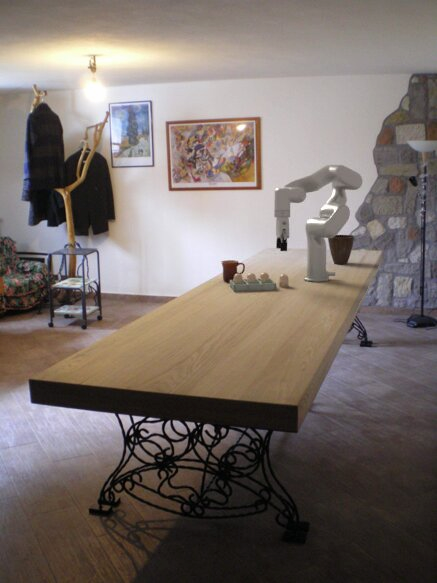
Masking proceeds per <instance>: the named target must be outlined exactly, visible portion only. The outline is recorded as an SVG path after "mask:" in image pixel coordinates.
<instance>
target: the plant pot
mask: <svg viewBox="0 0 437 583" xmlns="http://www.w3.org/2000/svg"><path fill="white" fill-rule="evenodd" d="M354 239H355V236H354V235H353V234H352V235H351V234H337V235H336V236H335V237H333V238H327V242H328V247H329V248H328V249H329V250H330V255H331V258H332V261H333V264H334V265H347V264H348V262H349V260H350V256H351V254H352V250H353V245H354V242H355V241H354Z"/></svg>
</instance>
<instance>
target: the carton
mask: <svg viewBox="0 0 437 583" xmlns="http://www.w3.org/2000/svg"><path fill="white" fill-rule="evenodd" d="M229 287H230V288H231V289H232V291H233V292H234V293H236V292H237V293H240V292H241V291H242V292H257V291H258V292H259V291H260V292H261V290H263V291H276V290H277V283H276V282H275V281H274V280H273V279H272V278H271V277H270V276H269V274H268V273H267V272H262V273H260V275H259V278H257V277H256V274H255V273H254V272H250V273H248V274H247V275H246V278H243V275H242V274H235V275H234V280H230V282H229Z"/></svg>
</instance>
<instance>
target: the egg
mask: <svg viewBox="0 0 437 583" xmlns="http://www.w3.org/2000/svg"><path fill="white" fill-rule="evenodd" d="M278 281H279V284H278V285H279V286H278V287H279V288H282V289H283V288H289V276H288V275H287V274H285V273H283V274H281V275H279V278H278Z"/></svg>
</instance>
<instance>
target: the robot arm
mask: <svg viewBox="0 0 437 583" xmlns="http://www.w3.org/2000/svg"><path fill="white" fill-rule="evenodd" d="M329 184H331V188H332V191H331V192H332V194H330V197H329V198H328V200H326V202H325V203H324V204H323V206H322V207H321V208H320V210H319V214H318V216H319V217H312V218H309V219H308V220H307V221H306V222H305V233H306V240H307V243H306V244H307V245H306V246H307V247H306V248H307V249H306V250H307V251H306V252H307V254H306V257H307V259H306V269H307V270H306V276H304V277H303V280H304V281H306V282H314V283H316V282H317V283H321V282H328V281H329V280H330V276H331V277H335V276H336V272H335V271H327V243H326V239H328V238H333V237H335V236H336V235H339V233H340V232H341V230H342V229H343V227H344V226H345V225H346V223H348V221H349V218H350V215H351V210H350V207H349V206H348V205H346V204H347V202H348V200H347V199H348V197H347V194H346V190H349V191H351V190H352V191H356V190H357V191H358V190H359V189H360V188H361V187H362V185H363V178H362V175H361V174H360V173H358V172H357V171H355V170H353V169H351V168H349V167H348V166H345V165H344V164H343V165H342V164H326V165H324V166H323V167H321V168H320V169H317V170H316V171H315V172H312V174H308V175H307V176H304V177H301V178H298V179H295V180H292V181H290V182H289V183H287V184H285V185H284V186H283V187H277V188H275V190H274V209H273V210H274V216H273V217H274V218H275V219H276V220H275V236H276V245H275V246H276V249H279V250H280V252H287V251H288V239H290V220H289V218H291V203H292V204H302V203H303V202H305V200H306V198H307V194H308V193H313V192H317V191H320V190H322V189H323V188H324V187H326V186H327V185H329Z"/></svg>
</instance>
